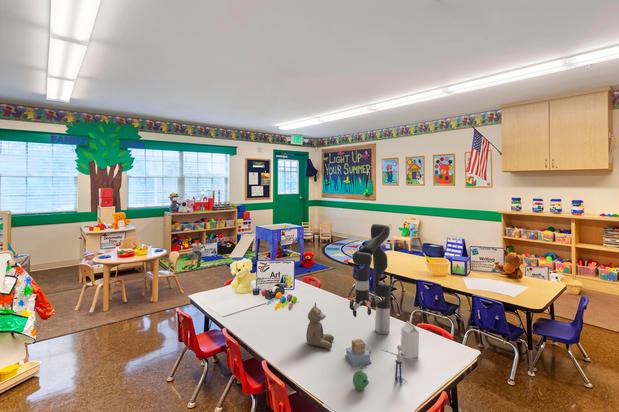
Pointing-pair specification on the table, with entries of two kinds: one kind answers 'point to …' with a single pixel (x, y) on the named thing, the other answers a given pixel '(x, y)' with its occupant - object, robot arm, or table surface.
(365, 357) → the pedestal
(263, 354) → the table surface
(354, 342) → the walnut block
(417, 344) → the milk carton
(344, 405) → the table surface
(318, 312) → the bear
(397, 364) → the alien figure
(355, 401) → the table surface
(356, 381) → the alien toy
